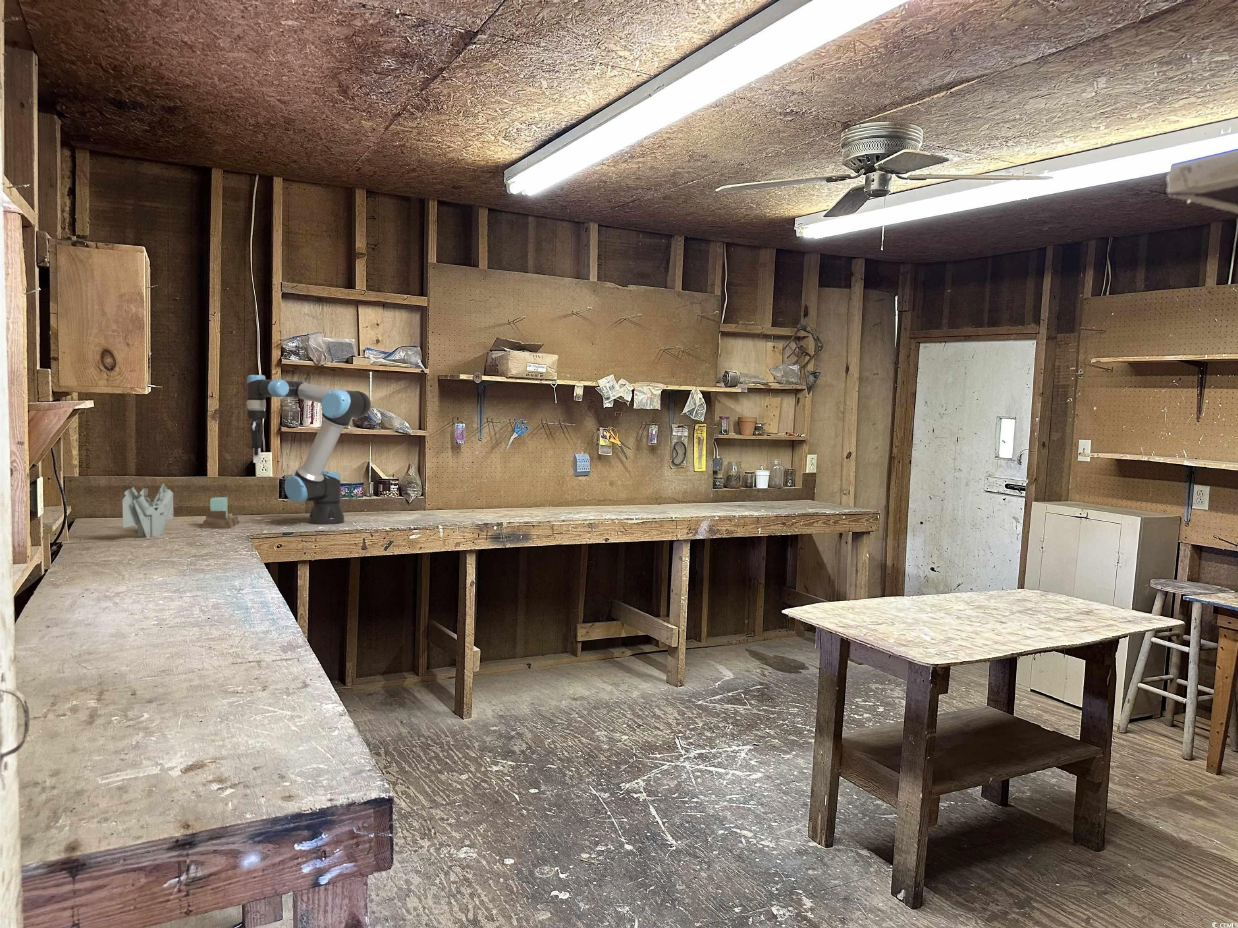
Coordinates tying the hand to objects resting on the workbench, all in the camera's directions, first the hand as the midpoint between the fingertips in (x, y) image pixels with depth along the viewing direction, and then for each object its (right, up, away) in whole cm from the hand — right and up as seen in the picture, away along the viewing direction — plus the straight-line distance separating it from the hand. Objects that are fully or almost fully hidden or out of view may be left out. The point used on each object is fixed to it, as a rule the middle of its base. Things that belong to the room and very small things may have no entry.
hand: (257, 462), depth 366 cm
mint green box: (-8, -26, -17) cm, 32 cm away
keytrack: (-9, -27, -15) cm, 32 cm away
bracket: (-22, -29, -45) cm, 58 cm away
